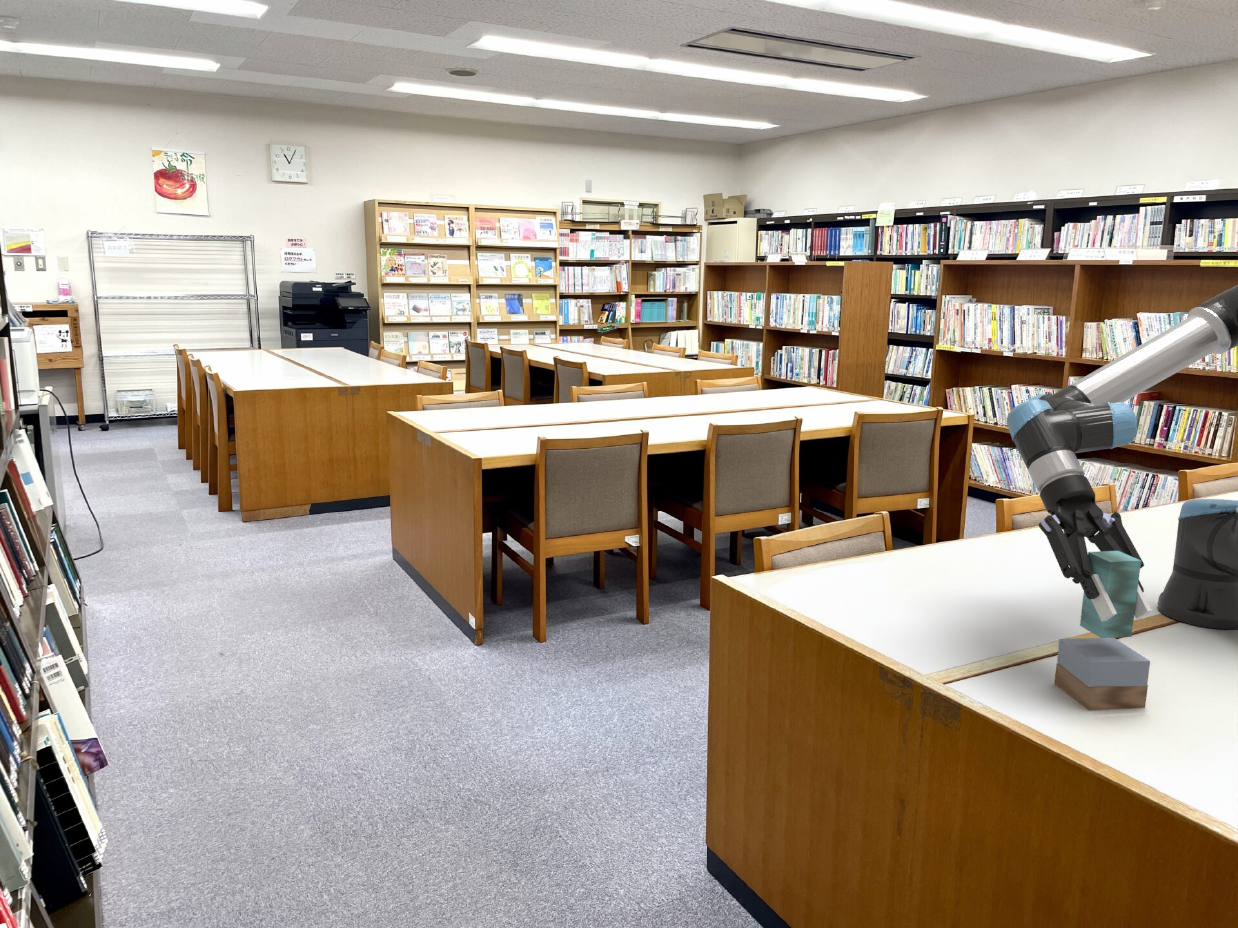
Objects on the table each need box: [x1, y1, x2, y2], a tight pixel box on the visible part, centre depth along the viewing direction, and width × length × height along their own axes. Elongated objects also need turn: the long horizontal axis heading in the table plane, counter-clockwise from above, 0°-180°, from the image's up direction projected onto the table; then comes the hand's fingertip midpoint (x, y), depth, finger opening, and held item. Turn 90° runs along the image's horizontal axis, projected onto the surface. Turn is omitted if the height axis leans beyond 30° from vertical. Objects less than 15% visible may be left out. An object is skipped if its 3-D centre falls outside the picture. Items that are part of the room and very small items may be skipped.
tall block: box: [1079, 550, 1141, 638], centre depth 135 cm, size 5×5×12 cm
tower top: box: [1056, 637, 1151, 687], centre depth 137 cm, size 9×9×4 cm
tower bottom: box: [1053, 662, 1149, 711], centre depth 137 cm, size 9×9×4 cm
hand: (1126, 615), depth 131 cm, fingers closed on tall block, 5 cm apart
